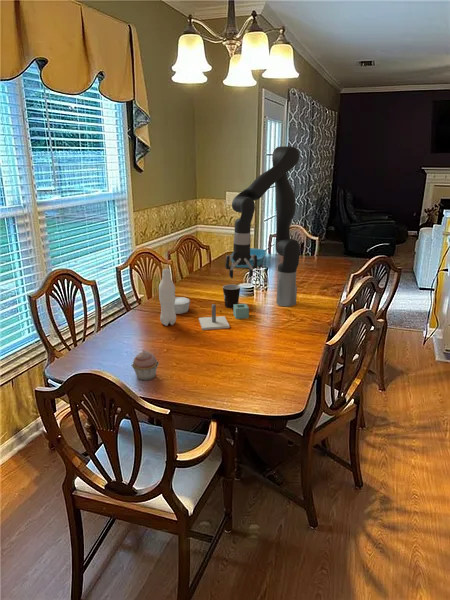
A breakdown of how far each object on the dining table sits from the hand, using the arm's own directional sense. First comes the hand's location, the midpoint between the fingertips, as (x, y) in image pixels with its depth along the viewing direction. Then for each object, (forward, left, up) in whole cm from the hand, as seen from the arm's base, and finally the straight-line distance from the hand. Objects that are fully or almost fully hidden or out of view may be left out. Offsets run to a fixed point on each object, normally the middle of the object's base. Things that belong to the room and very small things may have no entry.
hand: (240, 277), depth 203 cm
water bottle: (+34, +3, -19) cm, 39 cm away
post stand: (+14, +7, -19) cm, 24 cm away
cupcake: (+45, +50, -19) cm, 70 cm away
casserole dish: (-27, -97, -19) cm, 102 cm away
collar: (0, 0, -19) cm, 19 cm away
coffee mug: (+1, -16, -19) cm, 25 cm away
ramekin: (+28, -13, -19) cm, 36 cm away
